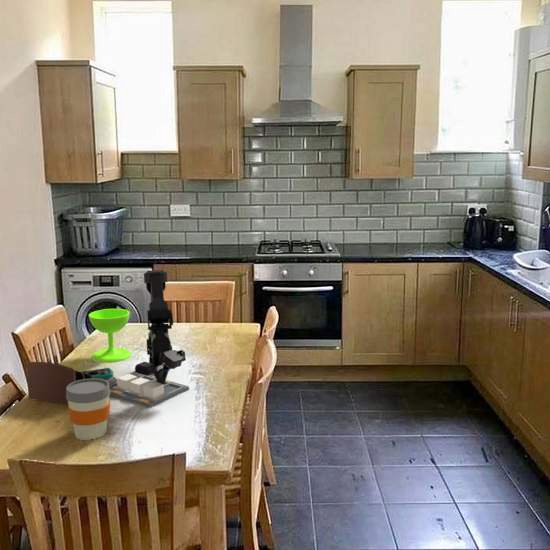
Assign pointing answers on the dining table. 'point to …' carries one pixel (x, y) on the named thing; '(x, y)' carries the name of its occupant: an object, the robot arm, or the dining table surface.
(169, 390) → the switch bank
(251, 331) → the dining table surface
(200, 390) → the dining table surface
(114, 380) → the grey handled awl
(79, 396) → the reusable coffee cup
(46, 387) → the letter holder
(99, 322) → the wineglass
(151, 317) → the robot arm
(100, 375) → the digital multimeter
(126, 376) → the white block
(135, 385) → the cream block
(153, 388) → the cream square block
